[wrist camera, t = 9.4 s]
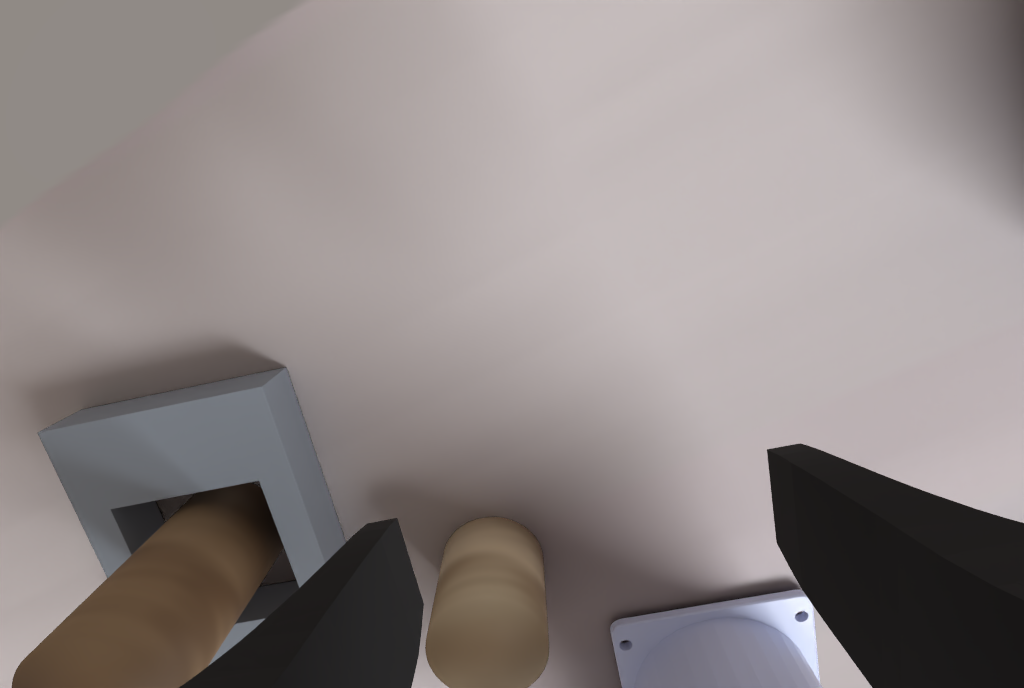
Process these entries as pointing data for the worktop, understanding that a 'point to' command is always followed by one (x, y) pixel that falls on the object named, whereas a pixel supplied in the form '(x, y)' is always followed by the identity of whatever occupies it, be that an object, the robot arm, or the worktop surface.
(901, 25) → the worktop surface
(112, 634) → the long dowel
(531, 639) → the short dowel
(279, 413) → the board
